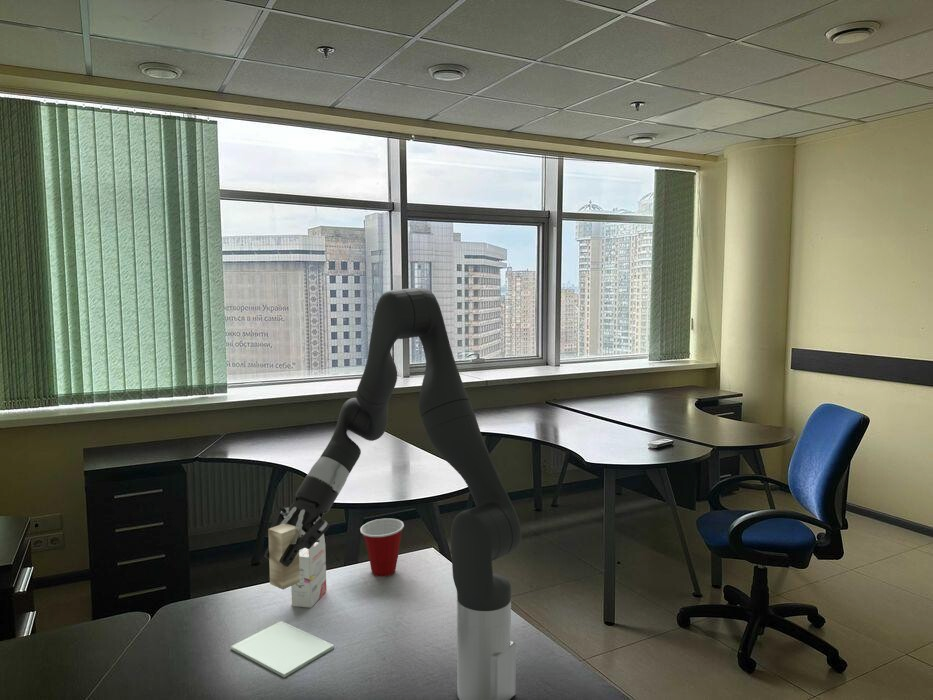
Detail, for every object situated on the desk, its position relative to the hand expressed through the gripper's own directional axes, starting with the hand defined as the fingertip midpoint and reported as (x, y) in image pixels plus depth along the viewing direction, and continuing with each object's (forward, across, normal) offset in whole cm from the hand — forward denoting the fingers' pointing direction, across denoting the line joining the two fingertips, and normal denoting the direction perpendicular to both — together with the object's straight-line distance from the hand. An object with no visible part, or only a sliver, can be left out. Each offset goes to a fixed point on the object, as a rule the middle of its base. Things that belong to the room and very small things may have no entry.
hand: (275, 561), depth 124 cm
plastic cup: (-14, -8, +40) cm, 43 cm away
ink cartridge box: (0, -12, +26) cm, 28 cm away
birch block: (+2, 0, +5) cm, 5 cm away
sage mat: (+12, 0, +14) cm, 18 cm away
